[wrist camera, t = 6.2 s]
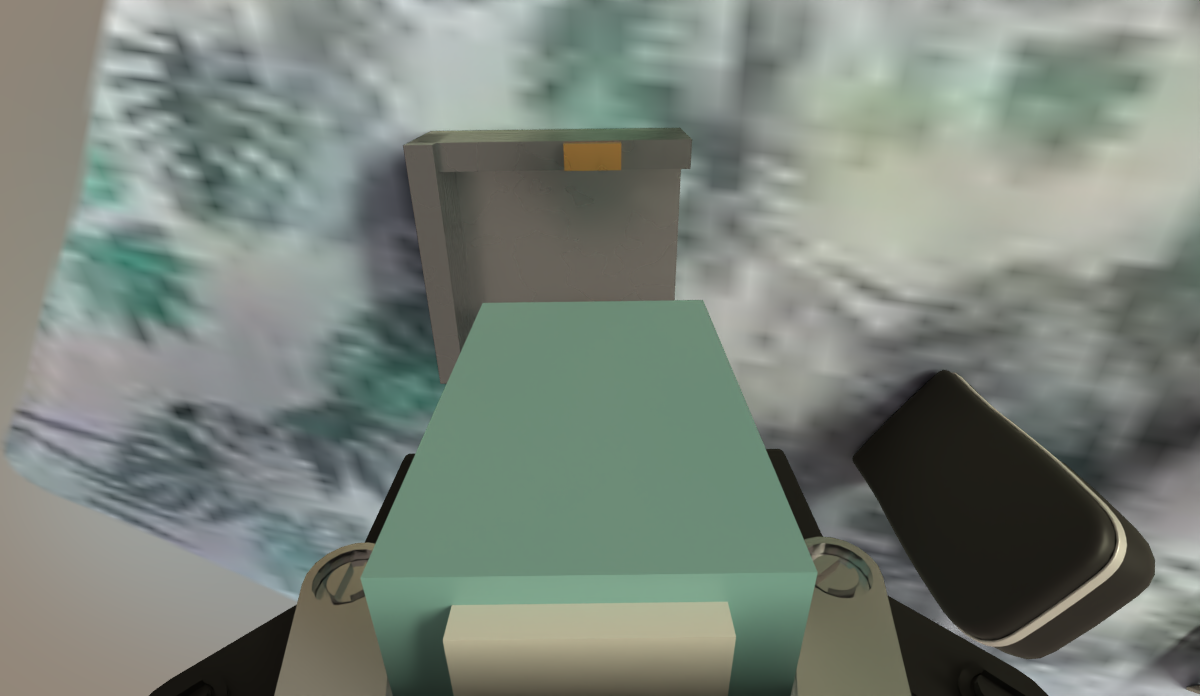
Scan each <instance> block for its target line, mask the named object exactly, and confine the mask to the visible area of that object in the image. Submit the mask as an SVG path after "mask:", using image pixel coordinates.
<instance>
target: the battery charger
mask: <svg viewBox="0 0 1200 696" xmlns="http://www.w3.org/2000/svg"><path fill="white" fill-rule="evenodd" d="M853 462H854V464H855V465H856V467H857V468H858V470H859V471H860V473H861V474H862V476H863V477H864V479H865V480H866V482H867V484H868V485H869V487H870V488H871V490H872V491H873V493H874V495H875V497H876V498H877V500H878V502H879V503H880V505H881V507H882V509H883V511H884V513H885V515H886V517H887V519H888V521H889V523H890V524H891V526H892V528H893V530H894V532H895V534H896V535H897V537H898V539H899V541H900V543H901V545H902V546H903V548H904V550H905V552H906V553H907V555H908V557H909V559H910V560H911V562H912V564H913V565H914V567H915V569H916V570H917V572H918V573H919V575H920V577H921V578H922V580H923V581H924V583H925V585H926V586H927V588H928V589H929V591H930V592H931V594H932V595H933V597H934V598H935V600H936V601H937V603H938V604H939V606H940V607H941V609H942V610H943V612H944V613H945V614H946V615H947V616H948V618H949V619H950V620H951V621H952V622H953V624H955V625H956V626H957V627H958V628H959V629H960V630H961V631H962V632H963V633H964V634H965V635H967V636H968V637H970V638H972V639H974V640H976V641H978V642H980V643H982V644H984V645H987V646H993V647H995V648H997V649H999V650H1001V651H1003V652H1005V653H1007V654H1010V655H1013V656H1017V657H1020V658H1024V659H1036V658H1042V657H1044V656H1046V655H1049V654H1051V653H1053V652H1055V651H1057V650H1059V649H1060V648H1062V647H1063V646H1065V645H1067V644H1068V643H1070V642H1071V641H1073V640H1075V639H1076V638H1078V637H1079V636H1081V635H1082V634H1084V633H1086V632H1087V631H1089V630H1090V629H1092V628H1094V627H1095V626H1097V625H1098V624H1100V623H1101V622H1102V621H1104V620H1105V619H1107V618H1108V617H1109V616H1111V615H1112V614H1114V613H1115V612H1116V611H1118V610H1119V609H1121V608H1122V607H1123V606H1125V605H1126V604H1128V603H1129V602H1130V601H1132V600H1133V599H1135V598H1136V597H1137V596H1138V595H1140V594H1141V593H1142V592H1143V591H1144V590H1145V589H1146V588H1147V587H1148V586H1149V585H1150V583H1151V581H1152V579H1153V577H1154V575H1155V559H1154V556H1153V554H1152V551H1151V549H1150V546H1149V544H1148V543H1147V541H1146V540H1145V539H1144V538H1143V536H1142V535H1141V534H1140V533H1139V532H1138V530H1137V529H1136V528H1135V527H1134V526H1133V525H1132V524H1131V523H1130V522H1129V521H1128V520H1127V519H1126V518H1125V517H1124V516H1122V515H1121V514H1120V513H1119V512H1118V511H1117V510H1116V509H1115V508H1114V507H1113V506H1112V505H1111V504H1110V503H1109V502H1108V501H1107V500H1106V499H1104V498H1103V497H1102V496H1101V495H1100V494H1099V493H1098V492H1097V491H1096V490H1095V489H1094V488H1092V487H1091V486H1090V485H1089V484H1088V483H1087V482H1086V481H1084V480H1083V479H1082V478H1081V477H1080V476H1079V475H1077V474H1076V473H1075V472H1074V471H1073V470H1072V469H1070V468H1069V467H1068V466H1067V465H1066V464H1064V463H1063V462H1061V461H1059V460H1058V459H1057V458H1056V457H1054V456H1053V455H1052V454H1051V453H1050V452H1049V451H1048V450H1046V449H1045V448H1044V447H1043V446H1041V445H1040V444H1039V443H1038V442H1036V441H1035V440H1034V439H1033V438H1032V437H1030V436H1029V435H1028V434H1027V433H1025V432H1024V431H1023V430H1022V429H1020V428H1019V427H1018V426H1017V425H1015V424H1014V423H1013V422H1011V421H1010V420H1009V419H1007V418H1006V417H1005V416H1003V415H1002V414H1001V413H1000V412H998V411H997V410H996V409H995V408H994V407H993V406H991V405H990V404H989V403H988V402H987V401H986V400H985V399H984V398H983V397H982V396H981V395H980V394H979V393H978V392H977V391H976V390H975V389H974V388H973V387H972V386H971V385H969V384H968V383H967V382H966V381H965V380H964V379H963V378H962V377H961V376H959V375H958V374H956V373H954V372H953V373H951V372H949V371H947V370H942V371H940V372H938V373H937V374H936V375H935V376H934V377H933V378H932V379H931V380H930V381H928V382H927V383H926V384H925V385H924V386H923V387H922V388H921V389H920V390H919V391H918V392H917V393H915V394H914V395H913V396H912V397H911V398H910V399H909V400H908V401H907V402H906V403H905V404H904V405H903V406H902V407H901V408H900V409H899V410H898V411H897V412H896V413H895V414H894V415H893V416H892V417H891V418H890V419H889V420H888V421H887V422H886V423H885V424H884V425H883V426H882V427H881V428H880V429H879V430H878V431H877V432H876V433H875V434H874V435H873V436H872V437H871V438H870V439H869V440H868V441H867V442H866V443H865V444H864V445H863V447H862V448H861V449H860V450H859V451H858V452H857V453H856V454H855V455H854V456H853Z"/></svg>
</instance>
